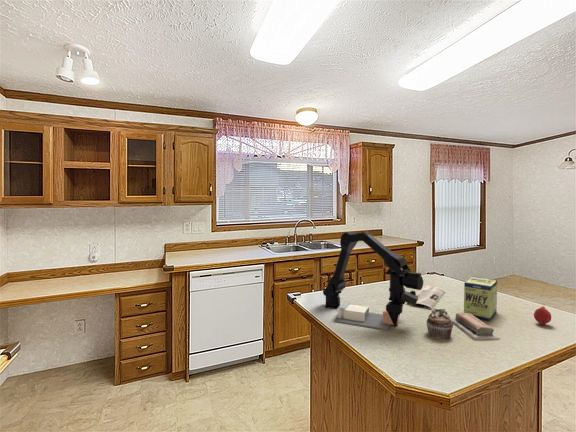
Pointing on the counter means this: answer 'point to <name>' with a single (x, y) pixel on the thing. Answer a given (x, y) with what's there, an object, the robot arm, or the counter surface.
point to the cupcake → (439, 324)
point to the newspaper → (429, 296)
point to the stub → (388, 318)
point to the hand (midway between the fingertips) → (396, 321)
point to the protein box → (480, 297)
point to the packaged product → (474, 327)
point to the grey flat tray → (360, 317)
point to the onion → (542, 315)
